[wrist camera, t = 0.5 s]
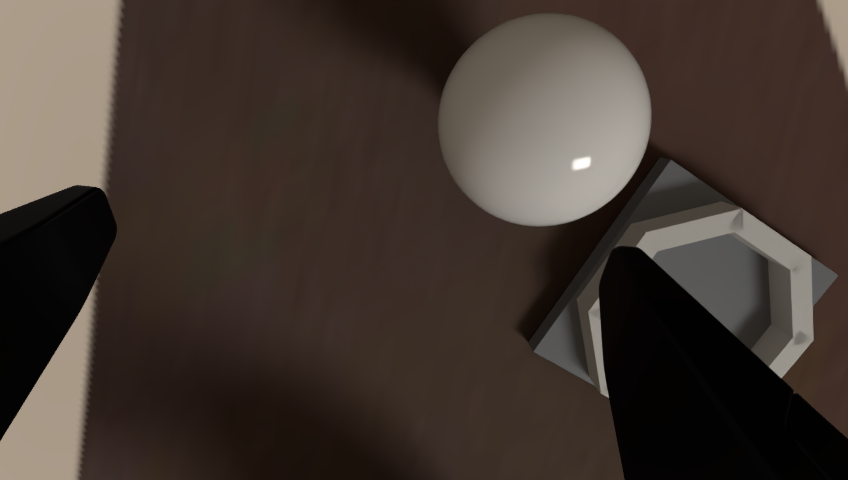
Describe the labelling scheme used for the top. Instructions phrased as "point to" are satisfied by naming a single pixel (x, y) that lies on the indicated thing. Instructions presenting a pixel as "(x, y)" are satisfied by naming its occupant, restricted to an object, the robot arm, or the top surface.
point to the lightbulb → (544, 119)
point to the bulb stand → (695, 275)
